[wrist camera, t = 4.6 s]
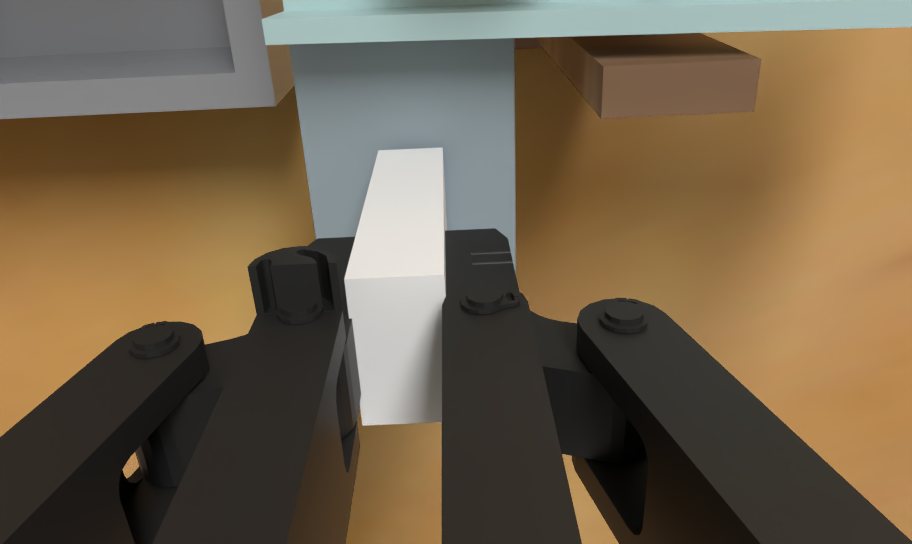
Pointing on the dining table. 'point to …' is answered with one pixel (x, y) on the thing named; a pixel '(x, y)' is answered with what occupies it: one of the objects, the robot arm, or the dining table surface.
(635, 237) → the dining table surface
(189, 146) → the dining table surface
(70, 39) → the bin
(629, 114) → the trunnion stand
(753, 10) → the teal pedestal platform
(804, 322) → the dining table surface
